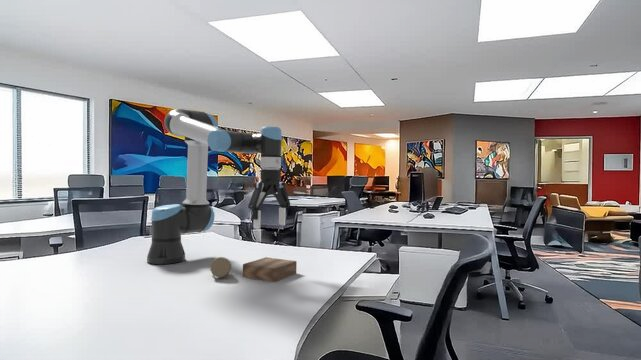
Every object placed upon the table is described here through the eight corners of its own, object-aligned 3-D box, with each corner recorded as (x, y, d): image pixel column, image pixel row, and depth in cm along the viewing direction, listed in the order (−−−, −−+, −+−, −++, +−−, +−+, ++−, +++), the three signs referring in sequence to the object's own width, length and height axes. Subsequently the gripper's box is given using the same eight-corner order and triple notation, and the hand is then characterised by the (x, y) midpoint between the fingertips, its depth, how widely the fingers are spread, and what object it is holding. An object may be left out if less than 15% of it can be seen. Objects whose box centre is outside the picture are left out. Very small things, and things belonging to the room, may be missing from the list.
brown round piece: (233, 271, 148) (239, 252, 142) (222, 289, 139) (228, 271, 134) (215, 263, 148) (220, 244, 142) (203, 281, 139) (208, 262, 134)
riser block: (242, 277, 141) (242, 264, 141) (266, 270, 153) (266, 257, 153) (274, 283, 134) (274, 268, 134) (296, 274, 147) (296, 261, 147)
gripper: (253, 168, 131) (253, 231, 131) (299, 169, 151) (298, 224, 152) (238, 168, 135) (237, 229, 136) (285, 169, 156) (284, 222, 156)
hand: (269, 226), depth 144 cm, fingers open, 13 cm apart
